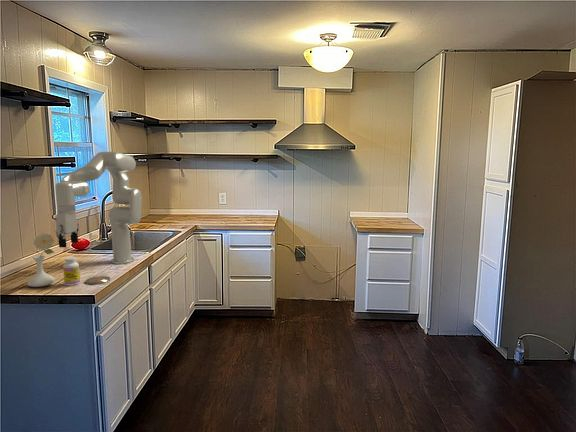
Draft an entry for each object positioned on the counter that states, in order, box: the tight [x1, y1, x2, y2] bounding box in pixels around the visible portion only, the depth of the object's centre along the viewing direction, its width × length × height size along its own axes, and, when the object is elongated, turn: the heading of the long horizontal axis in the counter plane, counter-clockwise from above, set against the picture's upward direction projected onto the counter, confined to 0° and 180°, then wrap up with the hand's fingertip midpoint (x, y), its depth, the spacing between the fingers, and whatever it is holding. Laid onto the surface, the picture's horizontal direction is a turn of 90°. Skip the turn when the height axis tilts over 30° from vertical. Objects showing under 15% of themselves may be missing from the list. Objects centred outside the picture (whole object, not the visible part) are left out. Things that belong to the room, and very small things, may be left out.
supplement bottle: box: [62, 256, 81, 287], centre depth 198 cm, size 7×7×13 cm
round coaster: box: [85, 275, 111, 286], centre depth 204 cm, size 11×11×1 cm
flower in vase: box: [26, 233, 56, 288], centre depth 195 cm, size 13×11×25 cm
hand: (68, 244), depth 196 cm, fingers open, 9 cm apart
